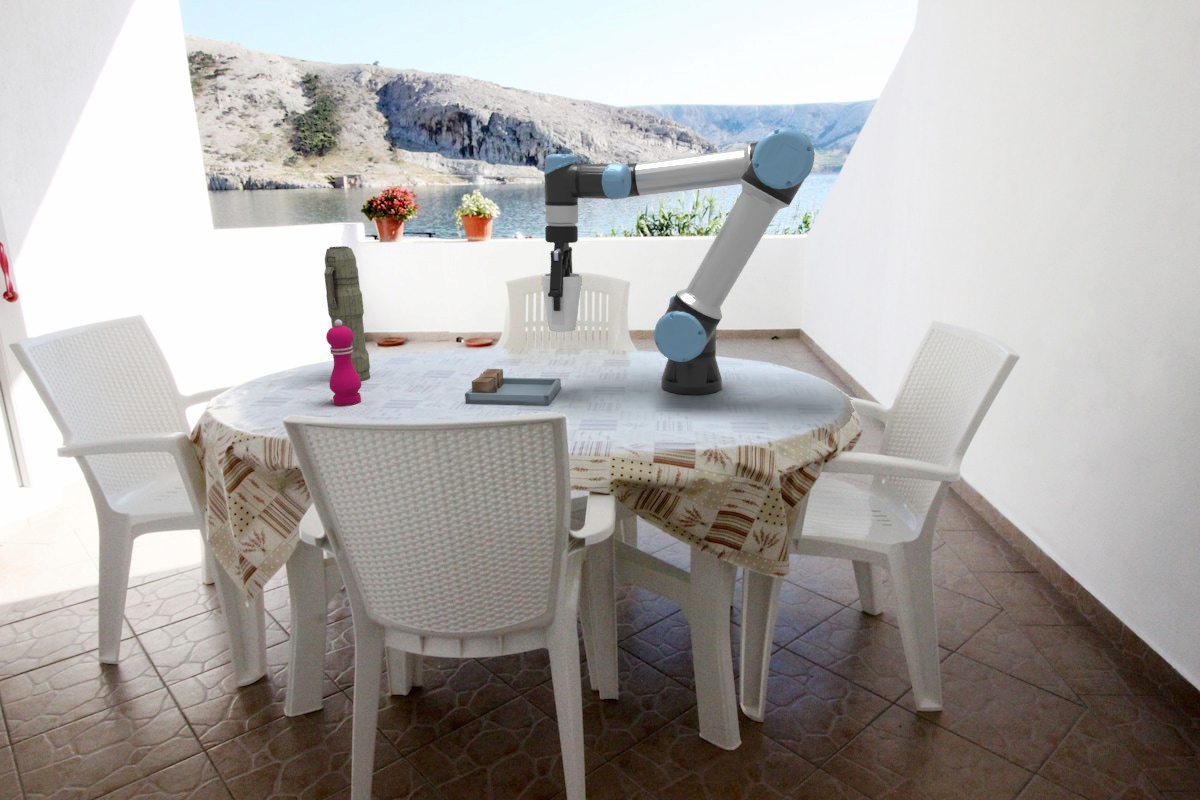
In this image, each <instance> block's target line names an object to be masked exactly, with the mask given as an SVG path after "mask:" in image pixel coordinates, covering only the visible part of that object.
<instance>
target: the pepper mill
mask: <svg viewBox="0 0 1200 800" xmlns="http://www.w3.org/2000/svg"><path fill="white" fill-rule="evenodd" d="M334 324H335V327H332V326H331V327H330V328H329V329H328V330H327V333H326V339H325V340H326V341H327V344H328V345H330V346H331V347H330V348H329V350H330V354H331V355H332V358H333V368H332V372H331V375H330V378H329V381H328V383H329V384H328V385H329V386H328V387H329V389H330V390H331V392H333V393H334V395H333V396H332V400H333V404H334V405H336V406H343V407H344V406H352V405H356V404H359V403H360V402H361V401H362V396H361V395H362V394H361V393H360V392H359V391H360V389H361V387H362V381H361V380H360V377H359V375H358V373H357V372H356V370H355V368H354V367H353V364H352V360H351V353H352V352H353V350H352V346H351V343H352V342H353V339H354V336H353V333H352V331H351V330H350V329H349V328H348V327H345V326H342V321H341V320H339V319H338V320H336V321H335V322H334Z"/></svg>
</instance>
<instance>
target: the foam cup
mask: <svg viewBox="0 0 1200 800" xmlns="http://www.w3.org/2000/svg"><path fill="white" fill-rule="evenodd" d="M541 286H542V290H543V298H544V303H545V311H546V319H547V320H546V321H547V324H548V325H547V326H548V327H547V328H548V330H549V331H550V332H557V333H566V332H567V333H570V332H573V331H574V332H575V331H576V327H577V320H578V312H579V304H580V296H581V289H582V286H583V275H582V274H580V273H573V272H572V273H570V277H563V296H562V297H564V325H552V297H548V293H549V291H550V272H548V273H543V274H541Z"/></svg>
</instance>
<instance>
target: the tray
mask: <svg viewBox="0 0 1200 800" xmlns="http://www.w3.org/2000/svg"><path fill="white" fill-rule="evenodd" d="M503 383H504V384H503V385H502V386H501V387H500V388H498V390H497V392H496V393H472V387H471V388H470V389H469V390H468V391H467V392H465V393H464V399H465V404H466V405H467V404H469V405H471V404H472V405H473V404H475V405H508V406H511V405H512V406H513V405H516V406H550V404H551V403H552V402H553V400H554V398H555V397H556V395H557V394H558V392H559V391H560V390H561V387H562V385H561V378H553V377H551V378H548V377H546V378H544V377H503Z"/></svg>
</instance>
